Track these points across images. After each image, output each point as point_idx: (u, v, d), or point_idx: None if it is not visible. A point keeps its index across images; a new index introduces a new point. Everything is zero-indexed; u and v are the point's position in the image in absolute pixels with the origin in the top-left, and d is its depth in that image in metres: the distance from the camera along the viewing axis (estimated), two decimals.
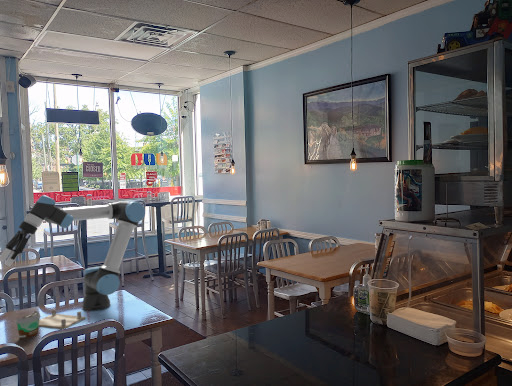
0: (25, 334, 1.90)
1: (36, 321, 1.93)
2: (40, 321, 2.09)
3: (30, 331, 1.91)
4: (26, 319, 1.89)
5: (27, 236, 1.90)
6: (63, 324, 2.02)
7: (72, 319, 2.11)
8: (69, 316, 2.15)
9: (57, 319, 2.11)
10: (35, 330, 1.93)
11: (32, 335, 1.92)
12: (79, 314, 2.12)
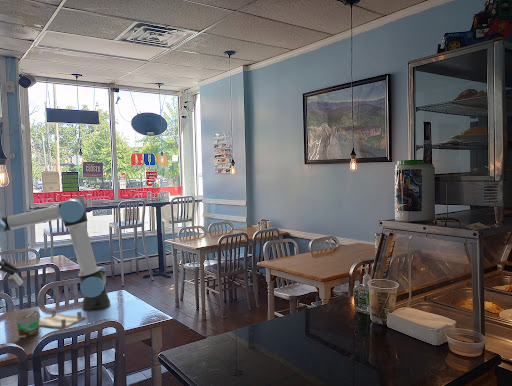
0: (25, 334, 1.90)
1: (36, 321, 1.93)
2: (40, 321, 2.09)
3: (30, 331, 1.91)
4: (26, 319, 1.89)
5: None
6: (63, 324, 2.02)
7: (72, 319, 2.11)
8: (69, 316, 2.15)
9: (57, 319, 2.11)
10: (35, 330, 1.93)
11: (32, 335, 1.92)
12: (79, 314, 2.12)
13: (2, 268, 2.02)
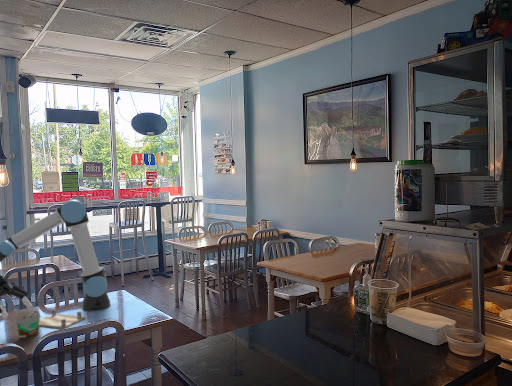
0: (25, 334, 1.90)
1: (36, 321, 1.93)
2: (40, 321, 2.09)
3: (30, 331, 1.91)
4: (26, 319, 1.89)
5: None
6: (63, 324, 2.02)
7: (72, 319, 2.11)
8: (69, 316, 2.15)
9: (57, 319, 2.11)
10: (35, 330, 1.93)
11: (32, 335, 1.92)
12: (79, 314, 2.12)
13: (11, 292, 2.00)
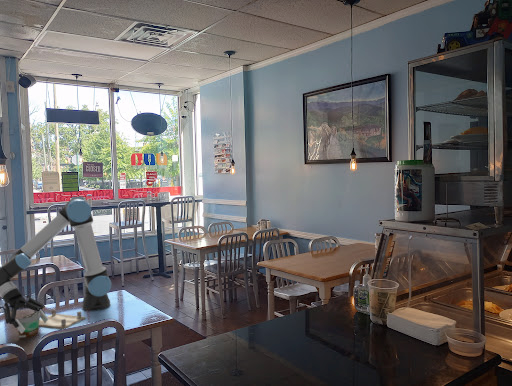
0: (25, 334, 1.90)
1: (36, 321, 1.93)
2: (40, 321, 2.09)
3: (30, 331, 1.91)
4: (26, 319, 1.89)
5: (4, 306, 1.89)
6: (63, 324, 2.02)
7: (72, 319, 2.11)
8: (69, 316, 2.15)
9: (57, 319, 2.11)
10: (35, 330, 1.93)
11: (32, 335, 1.92)
12: (79, 314, 2.12)
13: (27, 305, 1.98)
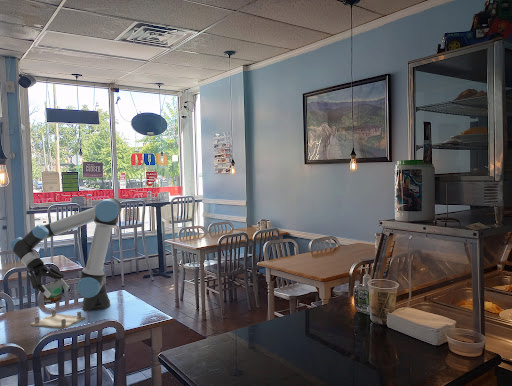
0: (50, 298, 2.05)
1: (59, 287, 2.09)
2: (40, 321, 2.09)
3: (55, 296, 2.06)
4: (51, 285, 2.04)
5: (29, 274, 2.03)
6: (63, 324, 2.02)
7: (72, 319, 2.11)
8: (69, 316, 2.15)
9: (57, 319, 2.11)
10: (59, 295, 2.08)
11: (56, 300, 2.07)
12: (79, 314, 2.12)
13: (49, 274, 2.12)
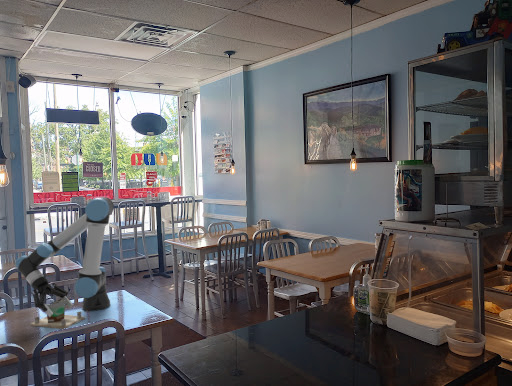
0: (54, 318, 2.07)
1: (63, 307, 2.11)
2: (40, 321, 2.09)
3: (58, 316, 2.08)
4: (54, 304, 2.06)
5: (33, 292, 2.06)
6: (63, 324, 2.02)
7: (72, 319, 2.11)
8: (69, 316, 2.15)
9: None
10: (62, 315, 2.10)
11: (59, 319, 2.09)
12: (79, 314, 2.12)
13: (53, 292, 2.15)
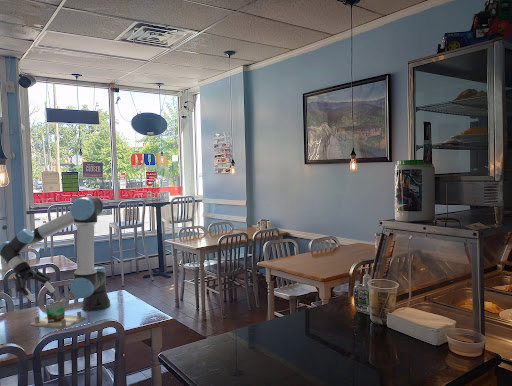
0: (54, 318, 2.07)
1: (63, 307, 2.11)
2: (40, 321, 2.09)
3: (58, 316, 2.08)
4: (54, 304, 2.06)
5: (15, 277, 2.09)
6: (63, 324, 2.02)
7: (72, 319, 2.11)
8: (69, 316, 2.15)
9: None
10: (62, 315, 2.10)
11: (59, 319, 2.09)
12: (79, 314, 2.12)
13: (35, 277, 2.18)
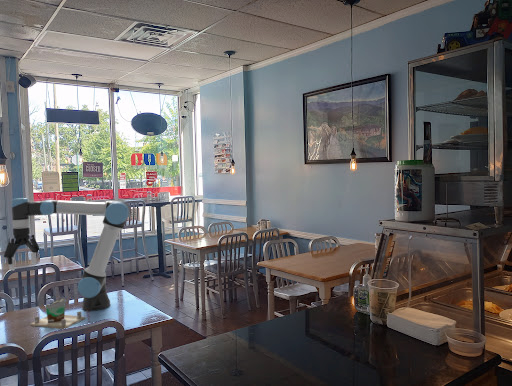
0: (54, 318, 2.07)
1: (63, 307, 2.11)
2: (40, 321, 2.09)
3: (58, 316, 2.08)
4: (54, 304, 2.06)
5: (10, 241, 2.05)
6: (63, 324, 2.02)
7: (72, 319, 2.11)
8: (69, 316, 2.15)
9: None
10: (62, 315, 2.10)
11: (59, 319, 2.09)
12: (79, 314, 2.12)
13: (27, 244, 2.15)
